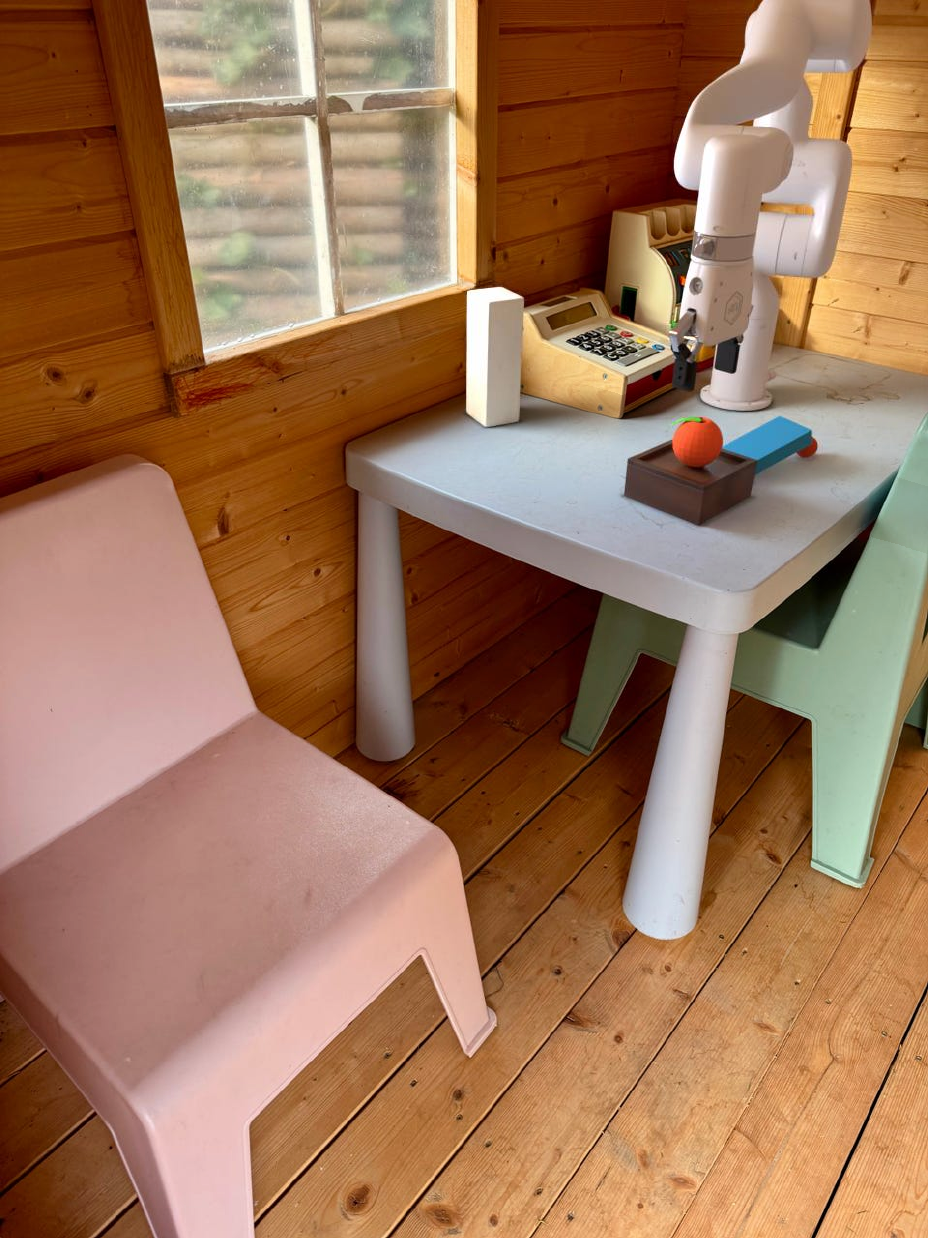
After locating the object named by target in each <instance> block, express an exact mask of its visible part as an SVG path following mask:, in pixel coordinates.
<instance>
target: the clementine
mask: <svg viewBox="0 0 928 1238" xmlns="http://www.w3.org/2000/svg"><path fill="white" fill-rule="evenodd" d="M681 422H682V423H681ZM677 423H680V424H679V426H678V427H677V428H676V430H675V431H674V434H673V437H672V439H673V450H674V453H675V455H676V457H677V458H678V459H679V460H680V461H681V462H682V463H684V464H685V465H687V466H691V467H703V466H706V465H708V464H710V463H712V462H713V461H714V460H715V459H716V458H717V457H718V455H719V454H720V452H721V450H722V446H724V436H723V432H722V430H721V428H720V426H719V425H718V423H716V422H715V421H713V420H712V419H711V418H708V417H706V416H705V417H704V416H689V417H688V416H687V417H683V418H680V419H677V420H676V421H673V423H671V424H670V425H669V426H668V428H667V430H666V431H665V433H667V432H668V430H669V429H670V428H671V427H672V426H673V425H675V424H677Z"/></svg>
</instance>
